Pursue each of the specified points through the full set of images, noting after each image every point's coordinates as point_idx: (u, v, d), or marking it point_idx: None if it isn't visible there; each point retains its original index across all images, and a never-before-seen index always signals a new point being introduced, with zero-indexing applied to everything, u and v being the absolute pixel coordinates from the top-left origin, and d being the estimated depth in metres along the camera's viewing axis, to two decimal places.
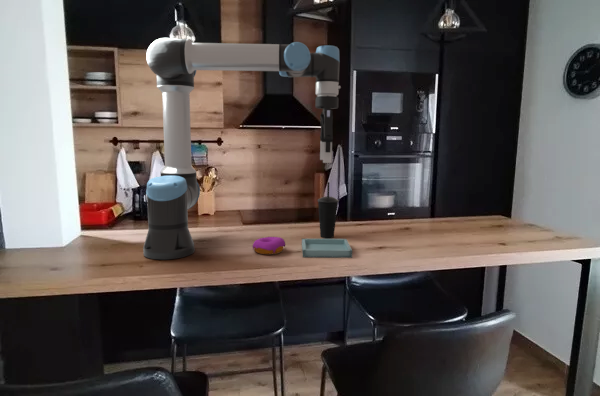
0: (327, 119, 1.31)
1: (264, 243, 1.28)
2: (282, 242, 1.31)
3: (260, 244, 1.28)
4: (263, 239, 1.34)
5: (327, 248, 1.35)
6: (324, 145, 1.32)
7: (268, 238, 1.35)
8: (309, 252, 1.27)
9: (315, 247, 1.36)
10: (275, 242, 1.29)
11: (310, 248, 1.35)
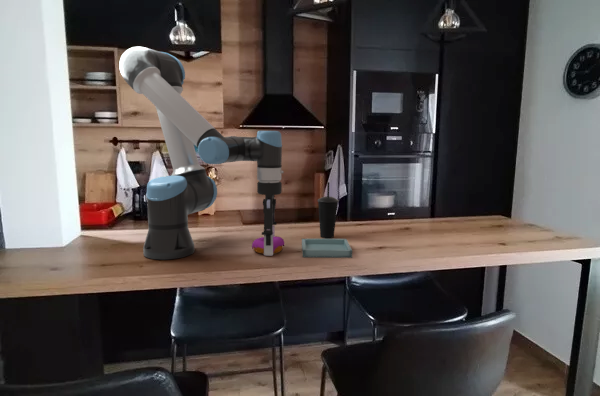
0: (267, 211, 1.24)
1: (263, 242, 1.28)
2: (281, 242, 1.31)
3: (259, 243, 1.28)
4: (262, 238, 1.34)
5: (327, 248, 1.35)
6: (264, 237, 1.26)
7: None
8: (309, 252, 1.27)
9: (315, 247, 1.36)
10: (274, 241, 1.29)
11: (310, 248, 1.35)
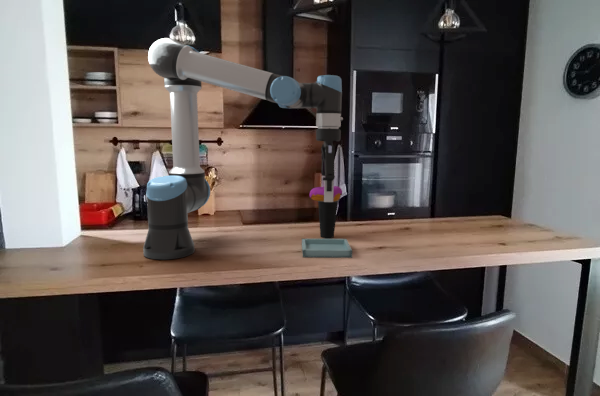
0: (328, 156, 1.22)
1: (323, 189, 1.27)
2: (340, 189, 1.29)
3: (319, 191, 1.27)
4: (319, 188, 1.33)
5: (327, 248, 1.35)
6: (325, 183, 1.24)
7: None
8: (309, 252, 1.27)
9: (315, 247, 1.36)
10: (334, 189, 1.27)
11: (310, 248, 1.35)
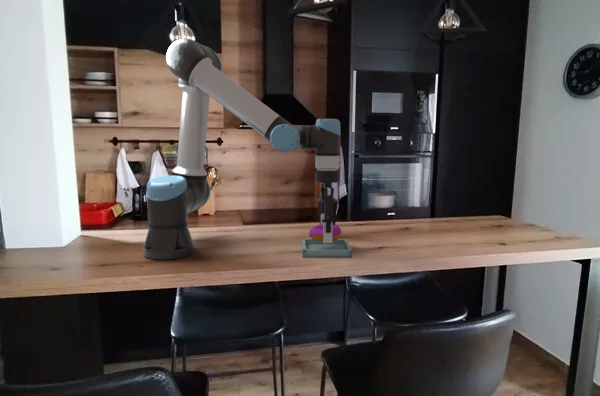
0: (327, 198, 1.24)
1: (322, 230, 1.29)
2: (339, 229, 1.31)
3: (318, 231, 1.29)
4: (319, 227, 1.35)
5: (327, 248, 1.35)
6: (324, 225, 1.26)
7: (323, 226, 1.36)
8: (309, 252, 1.27)
9: (315, 247, 1.36)
10: (333, 229, 1.29)
11: (310, 248, 1.35)
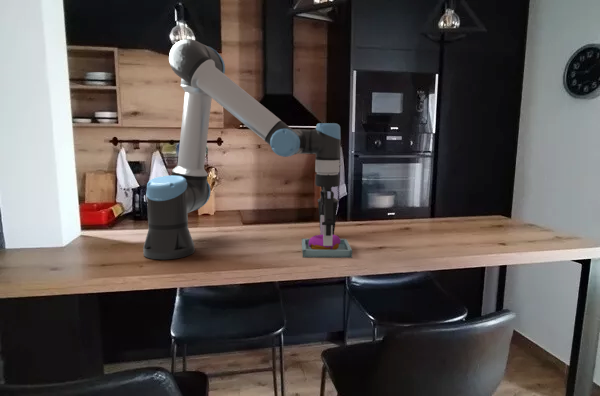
0: (327, 201, 1.24)
1: (321, 240, 1.29)
2: (338, 239, 1.32)
3: (317, 241, 1.30)
4: (318, 236, 1.35)
5: None
6: (324, 228, 1.26)
7: None
8: (309, 252, 1.27)
9: None
10: (332, 239, 1.30)
11: (310, 248, 1.35)
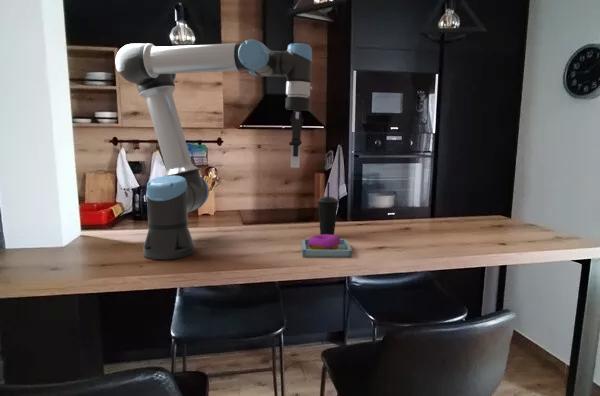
0: (295, 121, 1.23)
1: (321, 240, 1.29)
2: (338, 239, 1.32)
3: (317, 241, 1.29)
4: (318, 236, 1.35)
5: None
6: (292, 149, 1.25)
7: (322, 235, 1.36)
8: (309, 252, 1.27)
9: None
10: (332, 239, 1.30)
11: (310, 248, 1.35)
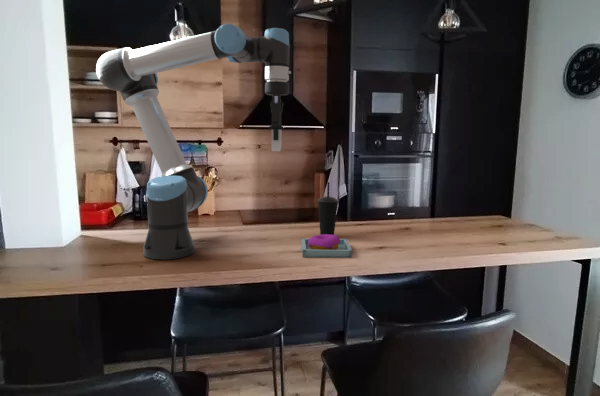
0: (275, 105, 1.24)
1: (321, 240, 1.29)
2: (338, 239, 1.32)
3: (317, 241, 1.29)
4: (317, 236, 1.35)
5: None
6: (272, 133, 1.26)
7: (322, 235, 1.36)
8: (309, 252, 1.27)
9: None
10: (332, 239, 1.30)
11: (310, 248, 1.35)
